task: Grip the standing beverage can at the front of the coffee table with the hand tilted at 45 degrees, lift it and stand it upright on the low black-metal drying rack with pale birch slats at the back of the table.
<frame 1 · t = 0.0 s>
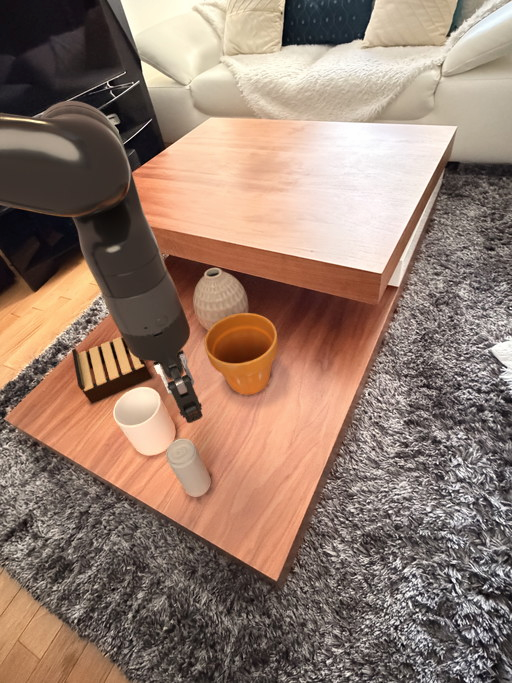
hand: (185, 396, 55), 22 cm above the table, tool pointing down, fingers open, 8 cm apart
beverage can: (198, 485, 69), on the table
flower pot: (249, 379, 84), on the table
vase: (226, 328, 97), on the table
mug: (149, 434, 78), on the table
rack: (117, 373, 90), on the table
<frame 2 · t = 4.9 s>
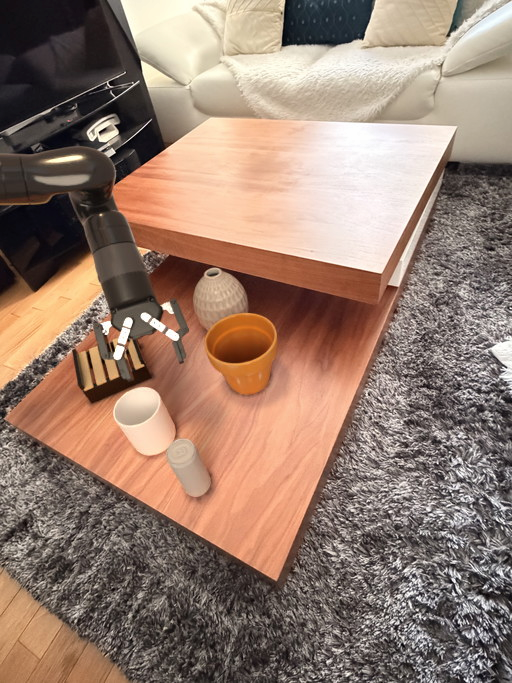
hand: (156, 372, 63), 19 cm above the table, tool tilted 45°, fingers open, 8 cm apart
nothing on the table moved.
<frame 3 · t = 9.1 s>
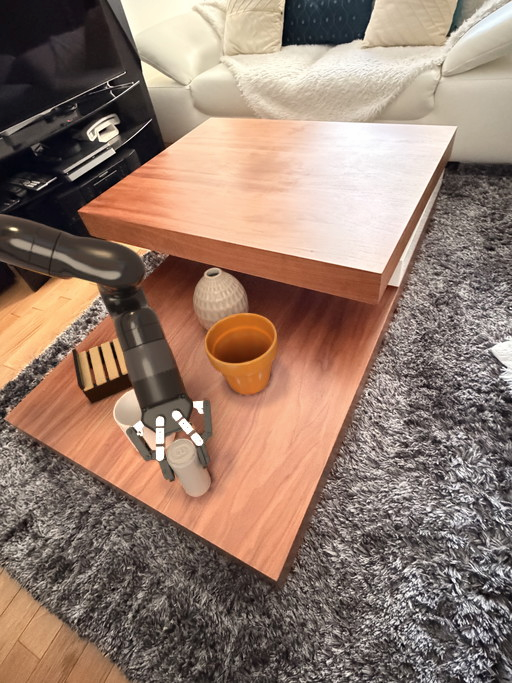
hand: (189, 473, 62), 8 cm above the table, tool tilted 45°, fingers closed on beverage can, 5 cm apart
beverage can: (198, 485, 69), on the table, touching gripper
everything else where it was.
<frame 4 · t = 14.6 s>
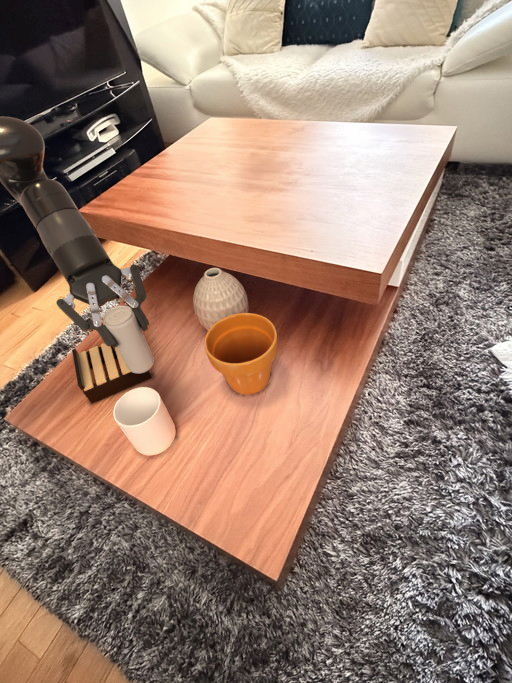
hand: (130, 338, 63), 24 cm above the table, tool tilted 45°, fingers closed on beverage can, 5 cm apart
beverage can: (142, 365, 70), point 15 cm above the table, touching gripper
everything else where it was.
when the fingers open (13 cm above the table, at t = 20.3 s): beverage can stays where it is, resting on rack.
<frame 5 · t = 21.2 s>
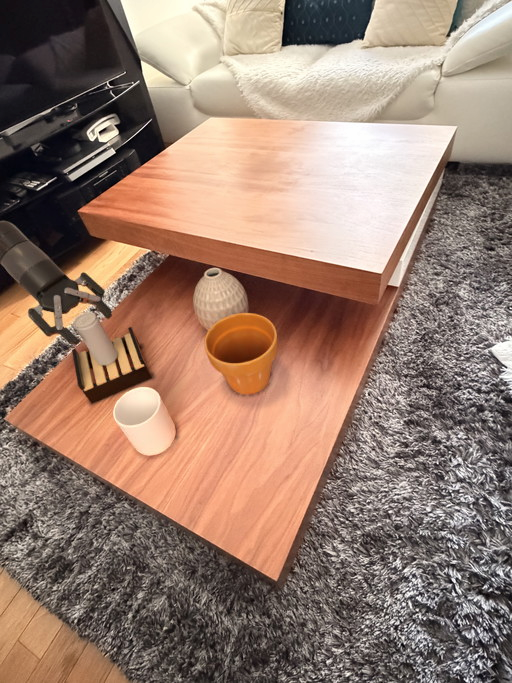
hand: (94, 330, 79), 15 cm above the table, tool tilted 45°, fingers open, 8 cm apart
beverage can: (108, 359, 87), point 5 cm above the table, touching rack
everything else where it was.
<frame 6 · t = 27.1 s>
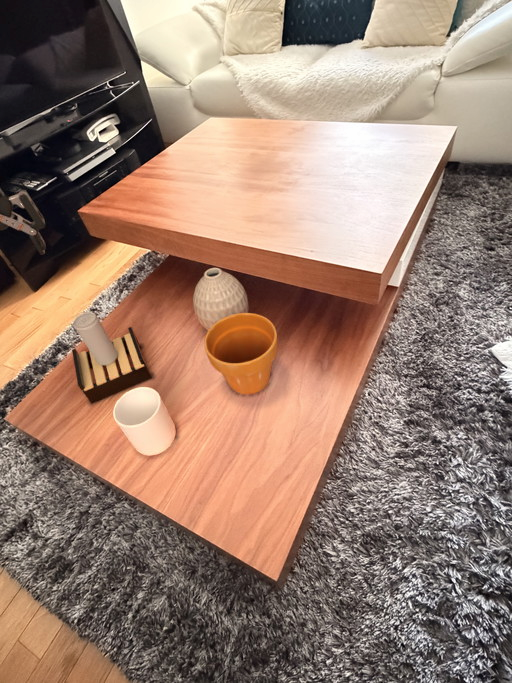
hand: (18, 260, 68), 32 cm above the table, tool pointing down, fingers open, 8 cm apart
nothing on the table moved.
at the end: beverage can inside the target area on the rack (0.3 cm from its centre), point 4.8 cm above the rack's base; beverage can tilted 0°; the gripper is holding nothing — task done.
